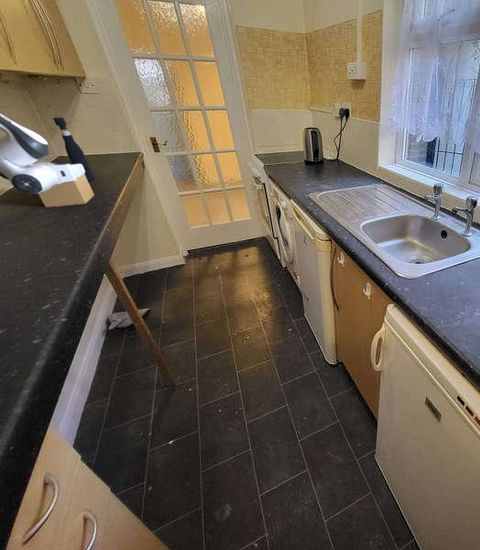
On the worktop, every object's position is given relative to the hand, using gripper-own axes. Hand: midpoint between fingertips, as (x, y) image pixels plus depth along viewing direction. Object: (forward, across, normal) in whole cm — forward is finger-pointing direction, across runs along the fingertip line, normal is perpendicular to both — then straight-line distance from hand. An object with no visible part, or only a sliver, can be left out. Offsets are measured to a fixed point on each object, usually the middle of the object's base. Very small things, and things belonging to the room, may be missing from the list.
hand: (57, 167), depth 125 cm
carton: (-3, 0, -14) cm, 14 cm away
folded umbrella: (+37, -3, -14) cm, 40 cm away
